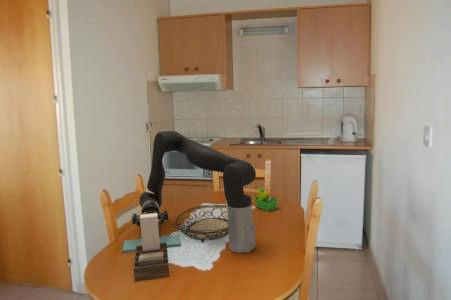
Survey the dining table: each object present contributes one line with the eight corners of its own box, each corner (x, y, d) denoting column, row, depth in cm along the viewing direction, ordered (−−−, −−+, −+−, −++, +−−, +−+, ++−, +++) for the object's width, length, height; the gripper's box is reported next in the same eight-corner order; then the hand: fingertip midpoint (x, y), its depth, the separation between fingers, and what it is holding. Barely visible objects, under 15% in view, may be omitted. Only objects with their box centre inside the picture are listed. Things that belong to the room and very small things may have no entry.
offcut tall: (139, 274, 124) (138, 258, 123) (164, 271, 126) (163, 255, 125) (139, 277, 122) (138, 261, 121) (164, 274, 123) (163, 258, 123)
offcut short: (140, 263, 132) (139, 254, 132) (163, 260, 134) (162, 251, 133) (140, 266, 130) (139, 257, 129) (163, 263, 131) (163, 254, 131)
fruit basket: (279, 209, 189) (278, 187, 187) (266, 213, 184) (265, 190, 182) (264, 204, 198) (264, 183, 197) (251, 207, 194) (250, 186, 192)
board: (124, 245, 152) (124, 240, 152) (179, 238, 156) (179, 234, 156) (122, 255, 142) (122, 250, 142) (181, 248, 146) (180, 243, 146)
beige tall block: (143, 256, 138) (140, 214, 136) (160, 254, 139) (157, 212, 137) (143, 261, 134) (139, 218, 132) (160, 259, 135) (157, 216, 133)
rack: (137, 258, 139) (136, 245, 138) (167, 254, 141) (166, 242, 140) (134, 283, 120) (133, 268, 120) (169, 278, 122) (168, 264, 122)
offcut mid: (140, 268, 128) (139, 256, 128) (164, 265, 130) (163, 253, 129) (140, 272, 126) (138, 259, 125) (164, 268, 127) (163, 256, 127)
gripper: (132, 203, 160) (130, 215, 144) (166, 200, 162) (168, 211, 146) (134, 220, 161) (132, 234, 145) (167, 217, 163) (169, 230, 148)
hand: (150, 223), depth 146 cm, fingers open, 8 cm apart
